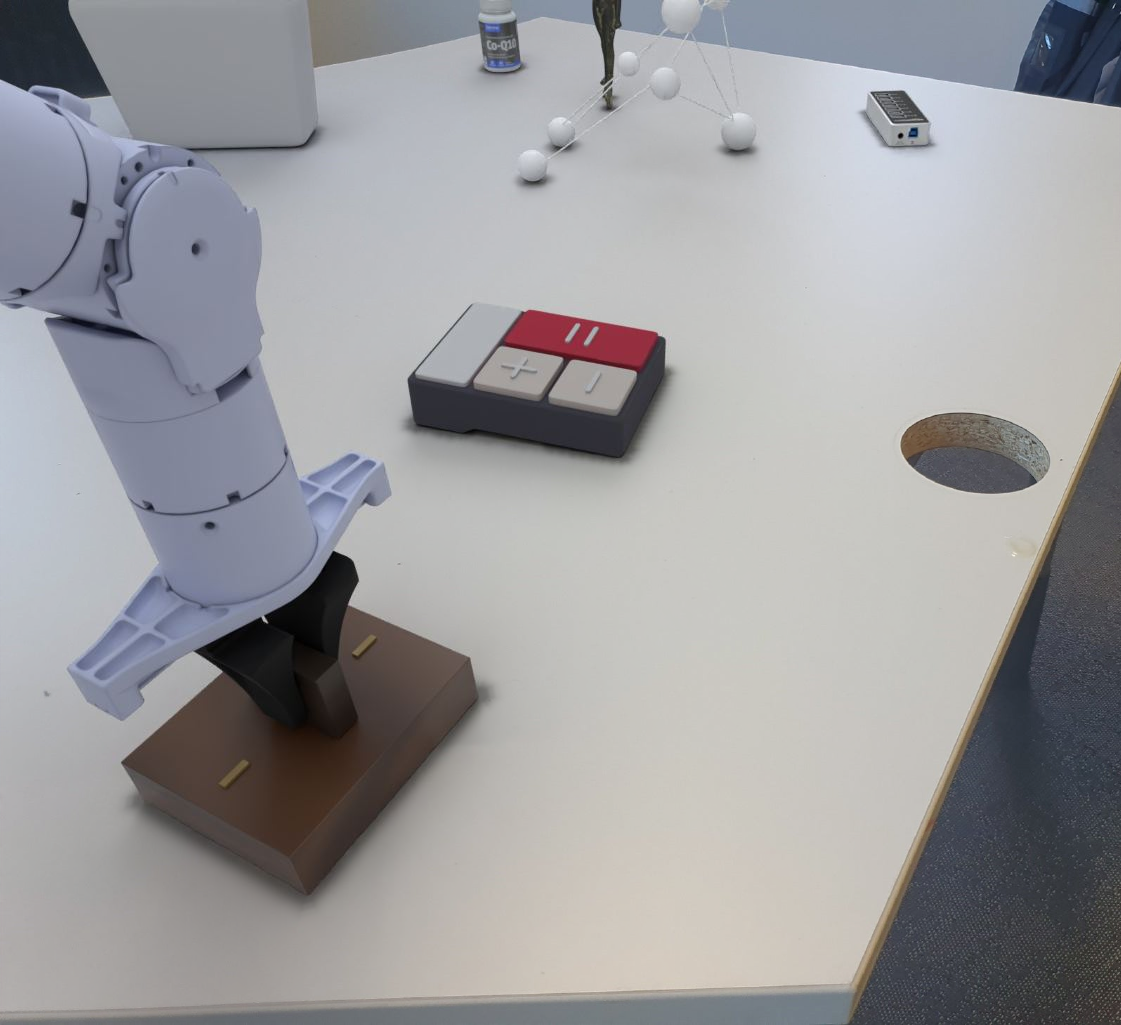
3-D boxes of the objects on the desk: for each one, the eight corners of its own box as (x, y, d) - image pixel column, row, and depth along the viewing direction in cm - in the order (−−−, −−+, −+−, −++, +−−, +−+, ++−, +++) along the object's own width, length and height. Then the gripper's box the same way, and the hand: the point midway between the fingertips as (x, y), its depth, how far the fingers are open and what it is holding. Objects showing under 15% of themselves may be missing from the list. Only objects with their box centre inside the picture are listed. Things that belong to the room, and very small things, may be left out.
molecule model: (765, 188, 103) (776, 20, 88) (523, 209, 102) (493, 42, 87) (745, 107, 111) (752, -60, 96) (520, 125, 109) (492, -41, 95)
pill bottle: (488, 75, 126) (478, 2, 120) (481, 64, 129) (472, -7, 124) (524, 71, 127) (517, -1, 122) (517, 60, 130) (509, -10, 125)
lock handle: (359, 718, 45) (338, 656, 43) (338, 740, 44) (314, 678, 42) (271, 674, 47) (245, 612, 45) (248, 694, 46) (221, 633, 44)
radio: (341, 122, 113) (283, -139, 97) (325, 149, 107) (260, -125, 91) (145, 126, 112) (53, -136, 96) (117, 153, 106) (14, -122, 90)
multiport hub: (902, 110, 115) (905, 89, 114) (928, 145, 107) (932, 123, 106) (864, 111, 115) (867, 91, 114) (888, 146, 107) (891, 125, 105)
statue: (580, 112, 115) (566, -86, 102) (591, 94, 120) (579, -97, 107) (620, 114, 115) (611, -85, 102) (629, 96, 120) (622, -97, 107)
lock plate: (308, 895, 42) (288, 855, 40) (144, 800, 46) (118, 759, 44) (479, 696, 50) (470, 655, 48) (328, 629, 54) (313, 587, 52)
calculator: (622, 413, 63) (402, 370, 65) (621, 466, 65) (411, 423, 68) (668, 327, 71) (471, 292, 73) (665, 377, 73) (476, 342, 76)
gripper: (275, 348, 43) (345, 573, 52) (-48, 548, 33) (106, 784, 42) (402, 390, 40) (453, 620, 49) (92, 621, 31) (225, 855, 40)
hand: (301, 699), depth 46 cm, fingers closed on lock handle
